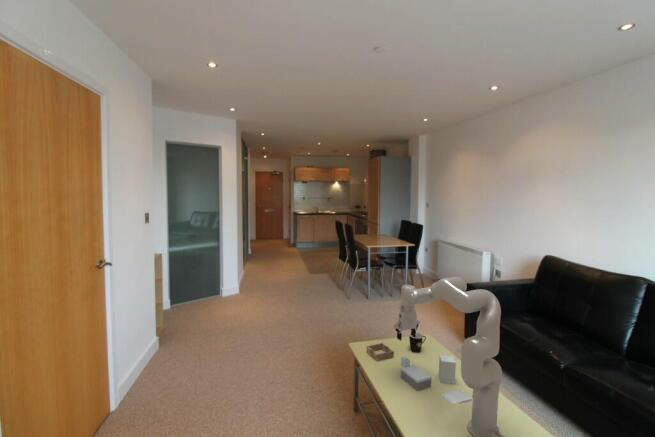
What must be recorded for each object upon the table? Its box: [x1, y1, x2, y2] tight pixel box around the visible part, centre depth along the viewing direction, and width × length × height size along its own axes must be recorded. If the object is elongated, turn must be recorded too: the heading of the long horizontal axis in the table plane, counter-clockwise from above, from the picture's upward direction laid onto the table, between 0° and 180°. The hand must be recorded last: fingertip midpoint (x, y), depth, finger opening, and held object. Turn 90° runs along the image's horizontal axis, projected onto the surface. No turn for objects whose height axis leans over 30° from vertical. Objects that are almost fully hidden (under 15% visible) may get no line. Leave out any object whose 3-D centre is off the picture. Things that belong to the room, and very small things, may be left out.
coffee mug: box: [408, 332, 427, 354], centre depth 202 cm, size 12×9×10 cm
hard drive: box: [440, 389, 473, 405], centre depth 154 cm, size 2×8×12 cm
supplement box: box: [438, 354, 457, 385], centre depth 168 cm, size 7×7×13 cm
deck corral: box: [366, 342, 395, 362], centre depth 196 cm, size 12×12×4 cm
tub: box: [400, 369, 432, 392], centre depth 166 cm, size 13×9×5 cm
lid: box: [400, 356, 432, 383], centre depth 167 cm, size 17×9×4 cm, turn 25°
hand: (406, 337), depth 173 cm, fingers open, 9 cm apart
